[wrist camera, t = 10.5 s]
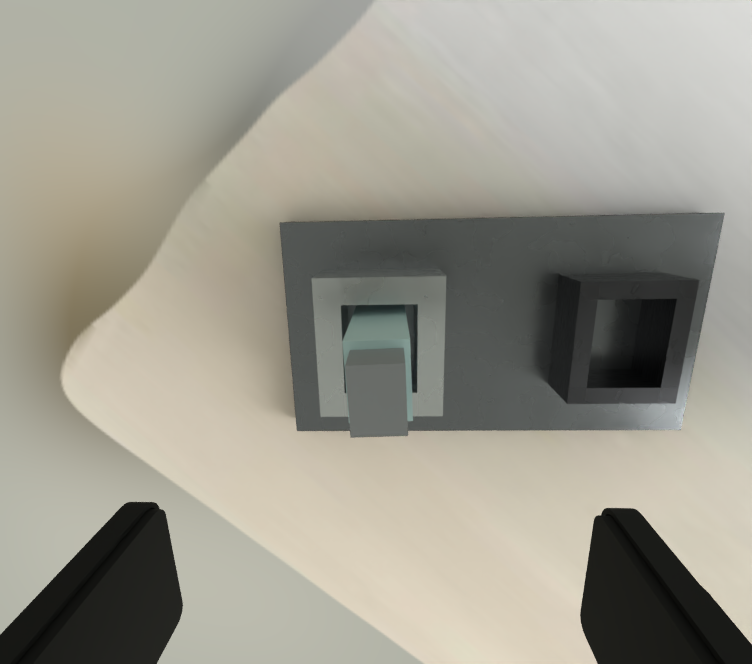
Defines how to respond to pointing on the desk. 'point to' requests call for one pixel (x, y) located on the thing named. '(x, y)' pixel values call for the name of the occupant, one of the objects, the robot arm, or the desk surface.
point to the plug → (378, 371)
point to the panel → (508, 316)
